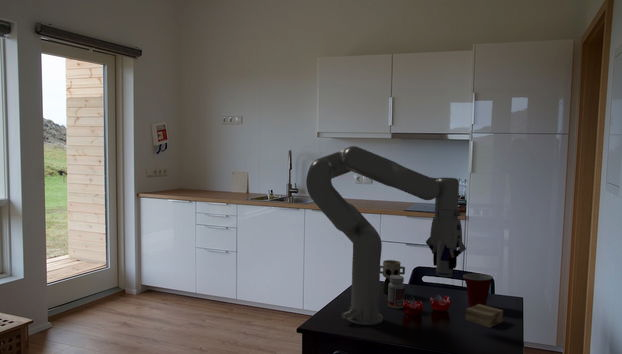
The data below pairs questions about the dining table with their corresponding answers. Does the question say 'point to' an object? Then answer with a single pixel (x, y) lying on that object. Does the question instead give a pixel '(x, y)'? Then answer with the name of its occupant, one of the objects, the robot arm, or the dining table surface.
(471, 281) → the plastic cup
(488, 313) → the oak block
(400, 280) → the pill bottle
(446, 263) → the energy drink
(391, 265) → the character mug
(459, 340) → the dining table surface
